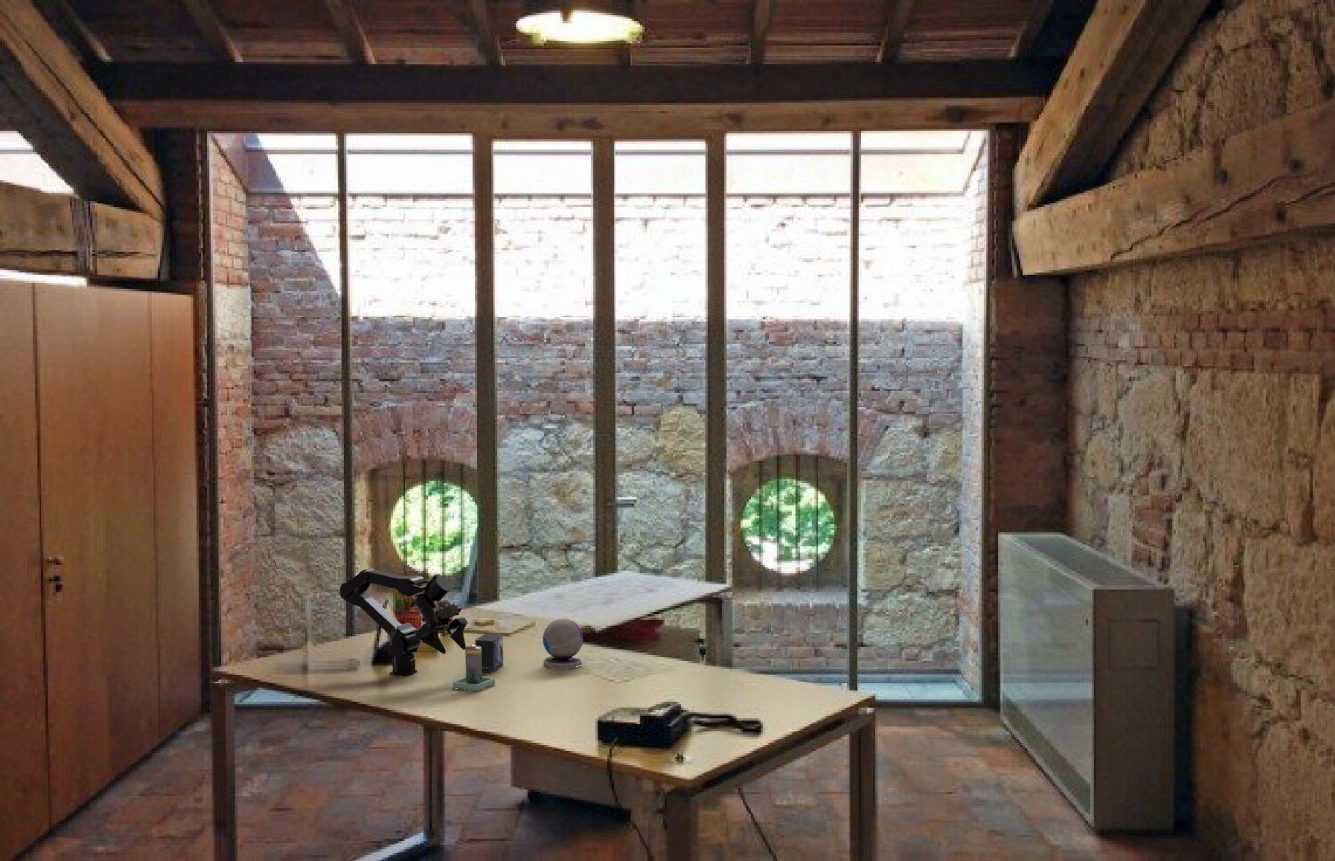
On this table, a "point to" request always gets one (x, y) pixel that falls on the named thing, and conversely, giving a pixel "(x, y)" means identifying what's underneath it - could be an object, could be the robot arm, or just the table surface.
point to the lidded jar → (473, 664)
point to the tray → (474, 687)
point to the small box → (491, 651)
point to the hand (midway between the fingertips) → (455, 651)
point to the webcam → (562, 644)
